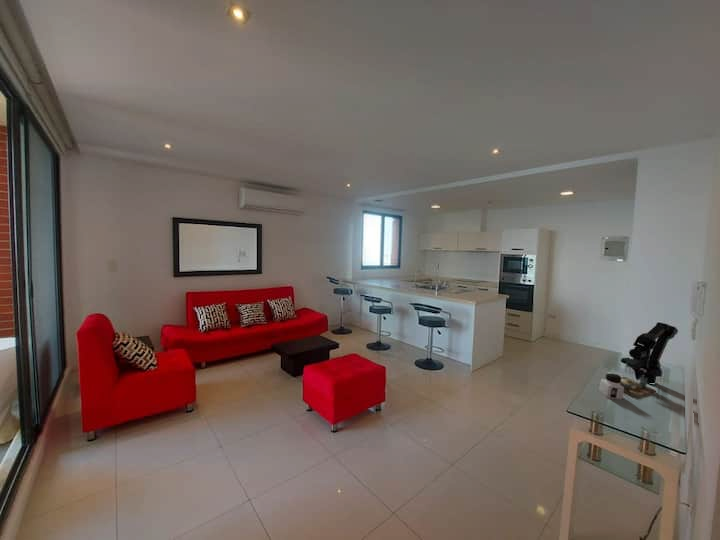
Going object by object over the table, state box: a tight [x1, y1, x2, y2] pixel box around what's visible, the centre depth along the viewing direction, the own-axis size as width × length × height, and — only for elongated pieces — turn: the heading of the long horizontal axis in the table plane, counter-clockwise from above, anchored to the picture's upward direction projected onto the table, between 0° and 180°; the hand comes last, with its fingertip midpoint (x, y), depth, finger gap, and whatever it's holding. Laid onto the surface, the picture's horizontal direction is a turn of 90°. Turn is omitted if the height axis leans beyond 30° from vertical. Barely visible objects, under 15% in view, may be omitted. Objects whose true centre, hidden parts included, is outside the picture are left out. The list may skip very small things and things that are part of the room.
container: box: [598, 372, 624, 401], centre depth 168 cm, size 8×8×13 cm
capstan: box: [621, 375, 648, 390], centre depth 177 cm, size 14×11×6 cm
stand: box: [620, 376, 657, 399], centre depth 177 cm, size 20×16×6 cm
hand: (637, 379), depth 179 cm, fingers closed
